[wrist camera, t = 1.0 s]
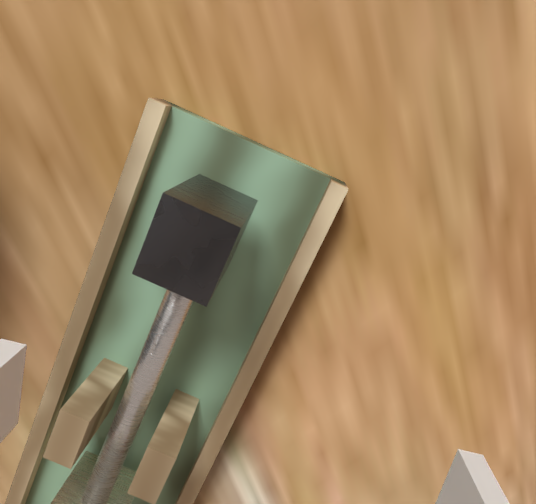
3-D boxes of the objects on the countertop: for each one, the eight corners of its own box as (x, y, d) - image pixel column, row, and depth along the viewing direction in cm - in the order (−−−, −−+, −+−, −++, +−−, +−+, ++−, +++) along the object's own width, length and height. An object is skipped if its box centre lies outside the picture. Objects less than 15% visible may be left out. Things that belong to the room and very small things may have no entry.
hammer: (198, 167, 33) (153, 188, 23) (267, 198, 33) (250, 232, 23) (78, 469, 40) (5, 581, 30) (135, 493, 40) (81, 612, 30)
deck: (-3, 558, 47) (-74, 658, 38) (163, 99, 35) (115, 93, 26) (133, 615, 47) (93, 726, 39) (344, 182, 35) (356, 203, 27)
